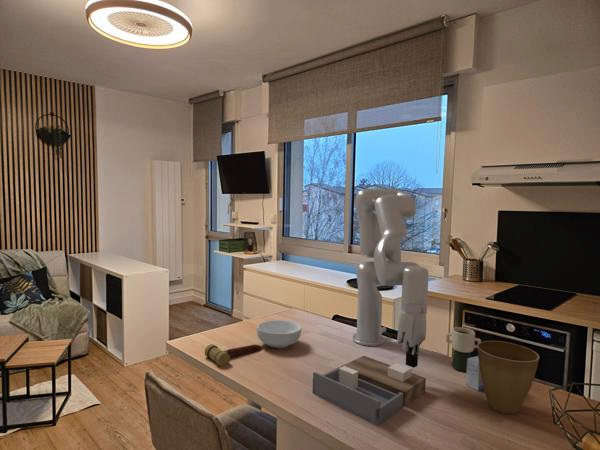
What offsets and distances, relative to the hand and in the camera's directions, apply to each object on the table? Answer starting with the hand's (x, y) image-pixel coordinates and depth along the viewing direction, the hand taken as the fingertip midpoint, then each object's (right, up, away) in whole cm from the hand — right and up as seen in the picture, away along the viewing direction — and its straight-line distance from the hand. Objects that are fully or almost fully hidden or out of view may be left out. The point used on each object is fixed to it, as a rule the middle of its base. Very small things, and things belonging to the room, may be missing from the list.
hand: (411, 365), depth 120 cm
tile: (-5, -1, -5) cm, 7 cm away
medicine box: (+21, -6, -1) cm, 22 cm away
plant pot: (+22, -7, -13) cm, 26 cm away
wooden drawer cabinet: (-10, -5, -2) cm, 11 cm away
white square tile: (-19, -2, -5) cm, 20 cm away
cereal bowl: (-42, -3, +29) cm, 51 cm away
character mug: (+20, -5, +11) cm, 23 cm away
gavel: (-56, -3, +18) cm, 59 cm away
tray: (-19, -6, -11) cm, 23 cm away
